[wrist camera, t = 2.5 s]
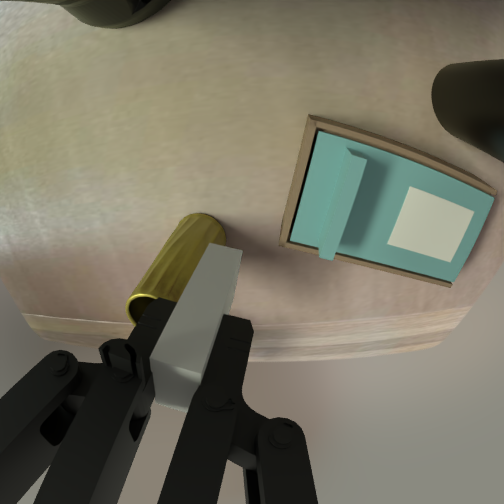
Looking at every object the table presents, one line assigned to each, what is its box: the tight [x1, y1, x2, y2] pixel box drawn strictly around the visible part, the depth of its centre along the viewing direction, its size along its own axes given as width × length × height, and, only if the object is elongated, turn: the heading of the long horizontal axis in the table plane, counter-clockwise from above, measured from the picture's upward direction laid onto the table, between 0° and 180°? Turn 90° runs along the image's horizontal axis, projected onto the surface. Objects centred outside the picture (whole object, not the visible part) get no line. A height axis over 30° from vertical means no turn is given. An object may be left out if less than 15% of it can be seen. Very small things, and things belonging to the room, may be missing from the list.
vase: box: [125, 213, 226, 326], centre depth 29 cm, size 6×6×14 cm
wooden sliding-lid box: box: [279, 114, 497, 288], centre depth 27 cm, size 12×20×5 cm, turn 80°
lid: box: [290, 130, 495, 282], centre depth 24 cm, size 10×19×4 cm, turn 80°
